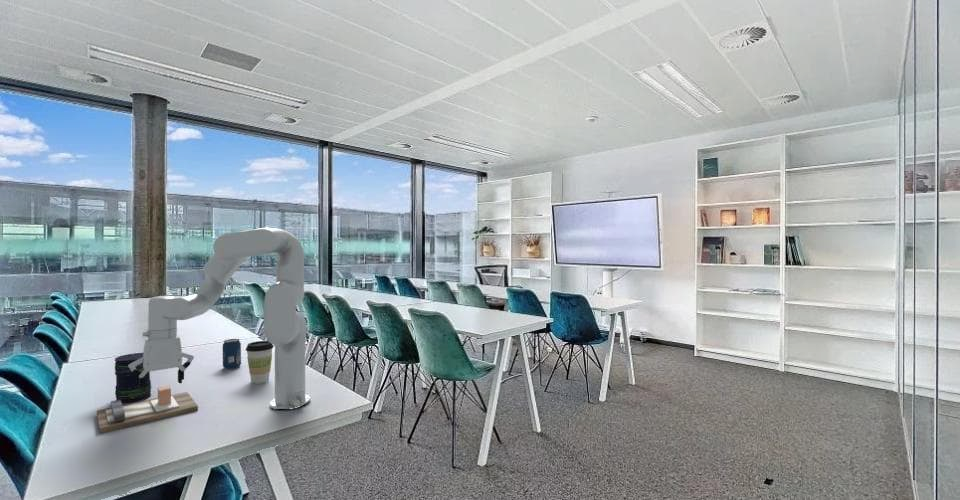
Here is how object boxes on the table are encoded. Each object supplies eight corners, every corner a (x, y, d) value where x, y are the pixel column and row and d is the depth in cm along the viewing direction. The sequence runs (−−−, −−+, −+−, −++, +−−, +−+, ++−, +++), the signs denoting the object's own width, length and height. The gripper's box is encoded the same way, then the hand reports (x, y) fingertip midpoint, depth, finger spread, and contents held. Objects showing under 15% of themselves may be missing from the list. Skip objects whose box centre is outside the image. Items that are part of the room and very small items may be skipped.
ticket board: (198, 410, 140) (197, 398, 139) (99, 433, 123) (99, 420, 123) (187, 395, 152) (186, 385, 152) (96, 415, 136) (96, 402, 136)
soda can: (223, 366, 188) (223, 339, 188) (241, 364, 191) (241, 337, 191) (221, 370, 182) (221, 342, 182) (240, 368, 185) (240, 341, 185)
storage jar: (156, 396, 152) (155, 355, 151) (122, 406, 143) (121, 361, 143) (143, 391, 157) (143, 351, 156) (110, 400, 148) (109, 357, 148)
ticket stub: (178, 407, 138) (178, 390, 138) (155, 412, 134) (155, 395, 134) (172, 397, 147) (172, 381, 147) (150, 401, 143) (150, 385, 143)
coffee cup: (253, 387, 162) (252, 347, 161) (241, 381, 168) (240, 344, 167) (278, 380, 169) (278, 342, 169) (266, 375, 175) (266, 339, 175)
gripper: (129, 339, 131) (129, 394, 132) (196, 332, 143) (195, 382, 144) (127, 335, 137) (127, 388, 137) (191, 328, 149) (191, 377, 149)
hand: (162, 385), depth 140 cm, fingers open, 9 cm apart
